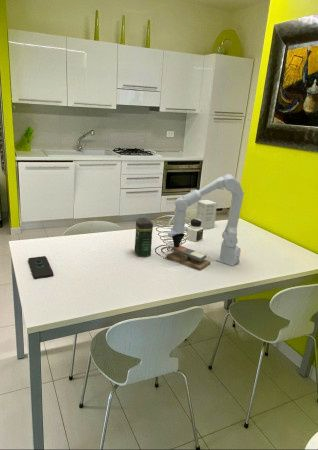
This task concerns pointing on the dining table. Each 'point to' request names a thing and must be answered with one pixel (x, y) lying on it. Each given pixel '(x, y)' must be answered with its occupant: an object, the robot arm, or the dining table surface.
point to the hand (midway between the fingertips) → (176, 246)
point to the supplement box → (206, 213)
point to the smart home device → (40, 267)
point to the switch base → (188, 260)
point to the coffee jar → (143, 237)
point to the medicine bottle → (195, 230)
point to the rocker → (189, 253)
